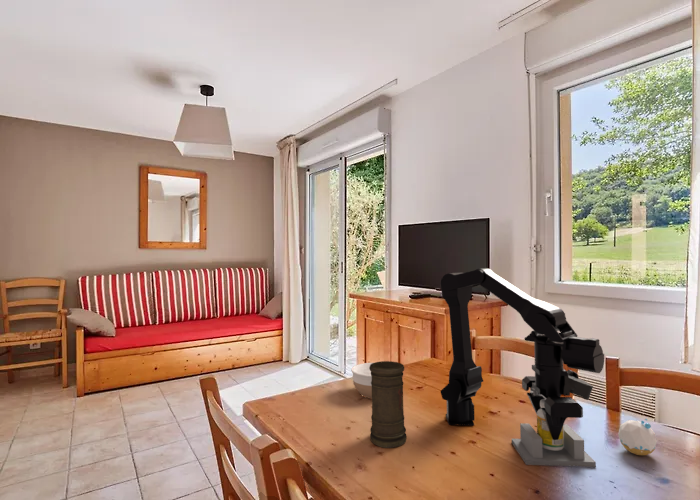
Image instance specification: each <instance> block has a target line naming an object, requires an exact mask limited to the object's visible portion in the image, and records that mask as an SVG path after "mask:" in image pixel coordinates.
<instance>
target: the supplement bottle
mask: <svg viewBox="0 0 700 500" xmlns="http://www.w3.org/2000/svg"><path fill="white" fill-rule="evenodd" d="M545 400H546V399H542V400H540V407H541V408H545V406H544V401H545ZM564 424H565V423H564ZM564 424H563V427H562V430H561V433H560V436H559V439H558V440H553V439H552V437H551V434H550V431H549V429H548V426H547V423H546V420H545V417H544V415H543V412H542V409H539V410H538V411H537V414H536V432H537V434H538V435H539V436H540V437H541V438H542V447H543V448H545V449H548V450H554V451H558V450H562V449H563V448H564Z"/></svg>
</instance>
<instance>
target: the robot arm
mask: <svg viewBox="0 0 700 500" xmlns="http://www.w3.org/2000/svg"><path fill="white" fill-rule="evenodd" d="M439 282H440V283H439V285H440V290H441V294H442V297H443V300H444V301H445V303H446V304H447V306H448V311H449V324H450V334H451V345H452V346H451V347H452V356H453V357H452V358H453V359H452V360H453V361H452V363H451V366H450V369H449V371H448V373H449V374H448V383H447V384H445V386H444V387H443V388H441V390H440V395H441V399H442V400H445V401H446V413H445V418H446V421H447V423H448V425H449V426H475V423H474V422H475V416H476V415H475V404H474V403H473V399H472V398H473V397H475V396H476V395H477V392H478V391H479V390H480V389H481V387H482V383H484V379H483V373H482V372H483V371H482V370H483V369H482V366H479V365H478V366H477V364H476V363H475V362H474V360H473V351H472V341H471V339H472V338H471V328H470V319H469V318H470V317H469V304H470V299H471V297H472V294H473V288H476V287H482V288H483V289H485V290H487V291H488V292H489V293H491V294H492V295H494V296H495V297H496V298H498V299H500V301H502V302H503V303H505V304H507V306H509V307H511V308H512V309H514V310H515V311H516V312H517V313H518V314H520V317H521V318H522V320H523V321H524V322H525V324H526V325H528V327H530V328H531V329H532V331H531V332H530V333H529V334H528V335H527V336H526V337H524V339H523V340H524V341H525V342H533V344H534V345H533V347H534V349H533V350H534V364H532V365H531V370H532V371H533V372H534V375H533V376H532V375H531V376H529V375H528V376H527V375H526V376H524V377H523V378H522V379H521V388H522V389H523V390H524V391H526V395H527V397H528V399H529V402H530V404H531V405H532V407H533V409H534V412H535V415H537V411H538V410H539V409H542V412H543V415H544V417H545V420H546V423H547V426H548V429H549V431H550V434H551V437H552V439H553V440H558V439H559V436H560V433H561V430H562V427H563V424H565V422H566V420H567V418H570V419H572V418H573V419H574V418H577V419H581V418H584V411H583V410H584V408H583V406H581V404H580V403H578V402H577V400H575V399H573V398H572V397H571V394H573V395H575V396H577V397H580V398H582V399H584V400H586V401H589V399H590V397H591V394H592V390H593V388H594V386H593V385H591V383H588V382H587V381H586V380H584V379H581V378H579V374H578V372H576V371H574V370H579V371H585V372H590V373H595V374H601V372H602V371H603V369H604V366H605V365H604V364H605V353H604V351H603V347H602V345H601V344H600V339H599V338H593V337H592V338H591V337H589V338H585V337H579V336H578V334H577V333H576V331H575V330H574V329H573V327H572V326H571V324H570V323H569V322H568V321H567V318H566V313H565V312H564V310H563V309H562V308H561V307H558V306H557V305H554V304H552V303H549V302H547V301H544V300H541V299H537V298H535V297H532V296H531V295H529V294H527V293H526V292H524V291H522V290H521V289H519V287H516V286H515V285H513V284H512V283H510V282H509V281H508V280H505V279H504V278H503V277H501V276H499V275H498V274H496V273H495V272H494V271H493V270H492V269H491V268H487V267H485V268H483V267H482V268H476V269H474V270H472V271H467V272H452V273H451V272H450V273H445V274H444V275H443V276H442V278H440V281H439ZM564 365H566V366H567V368H569V369H567V370H566V369H565V368H564ZM571 369H574V370H571ZM528 391H529V392H528ZM562 395H563V396H562ZM542 399H546V400H545V401H544V406H545V408H541V407H540V400H542Z"/></svg>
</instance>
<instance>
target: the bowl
mask: <svg viewBox="0 0 700 500" xmlns="http://www.w3.org/2000/svg"><path fill="white" fill-rule="evenodd" d="M372 363H373V362H365V363H359V364H356V365H354V366H353V367H351V373H352V383H353V385H354V388H355V390H357V392H358V393H359V395H360V394H361V395H363V396H365V397H364V398H366V397H368V398H367V399H370V398H372V385H371V381H372V376H371V371H370V369H369V368H370V365H371V364H372ZM361 395H360V396H361ZM363 396H362V397H363Z"/></svg>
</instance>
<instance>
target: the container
mask: <svg viewBox="0 0 700 500" xmlns="http://www.w3.org/2000/svg"><path fill="white" fill-rule="evenodd" d="M371 363H372V364H371V365H370V368H369V369H370V371H371V376H372V381H371V385H372V399H371V426H370V434H369V438H370V441H371V443H372V444H373V445H374V446H375V445H376V446H378V447H379V448H380V447H381V448H387V449H388V448H389V449H390V448H397V447H400V446H403V445H404V444H405V443H406V441H407V439H408V438H407V437H408V436H407V434H406V432H407V429H406V427H405V415H404V413H405V412H404V411H405V410H404V380H403V376H404V371H405V366H404V364H402V363H400V362H397V361H391V360H383V361H376V362H371Z"/></svg>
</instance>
